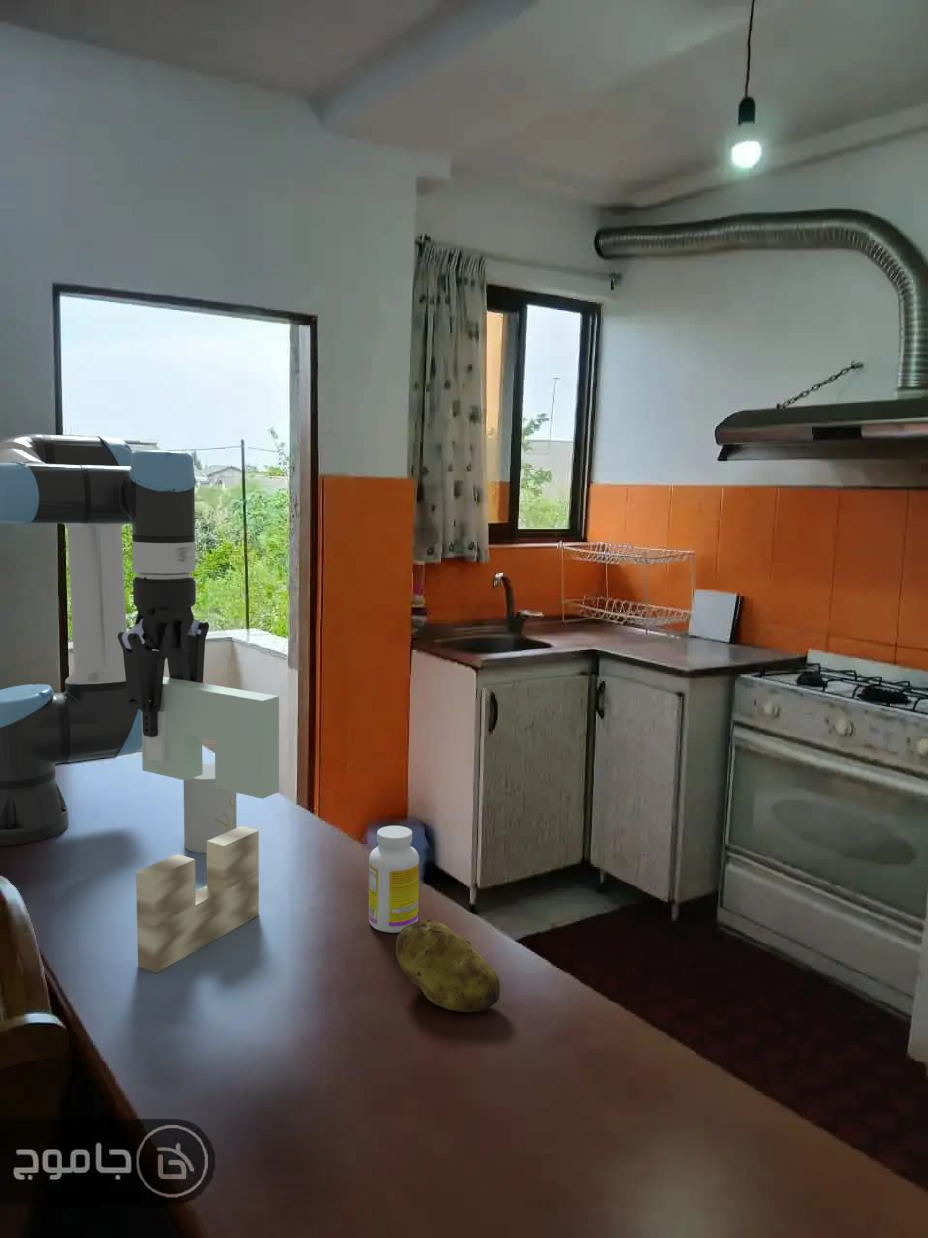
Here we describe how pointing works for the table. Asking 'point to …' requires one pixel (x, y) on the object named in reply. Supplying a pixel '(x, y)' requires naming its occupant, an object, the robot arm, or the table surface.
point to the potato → (446, 967)
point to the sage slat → (220, 736)
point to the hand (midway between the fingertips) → (167, 756)
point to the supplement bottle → (393, 880)
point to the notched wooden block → (196, 899)
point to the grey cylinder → (206, 810)
